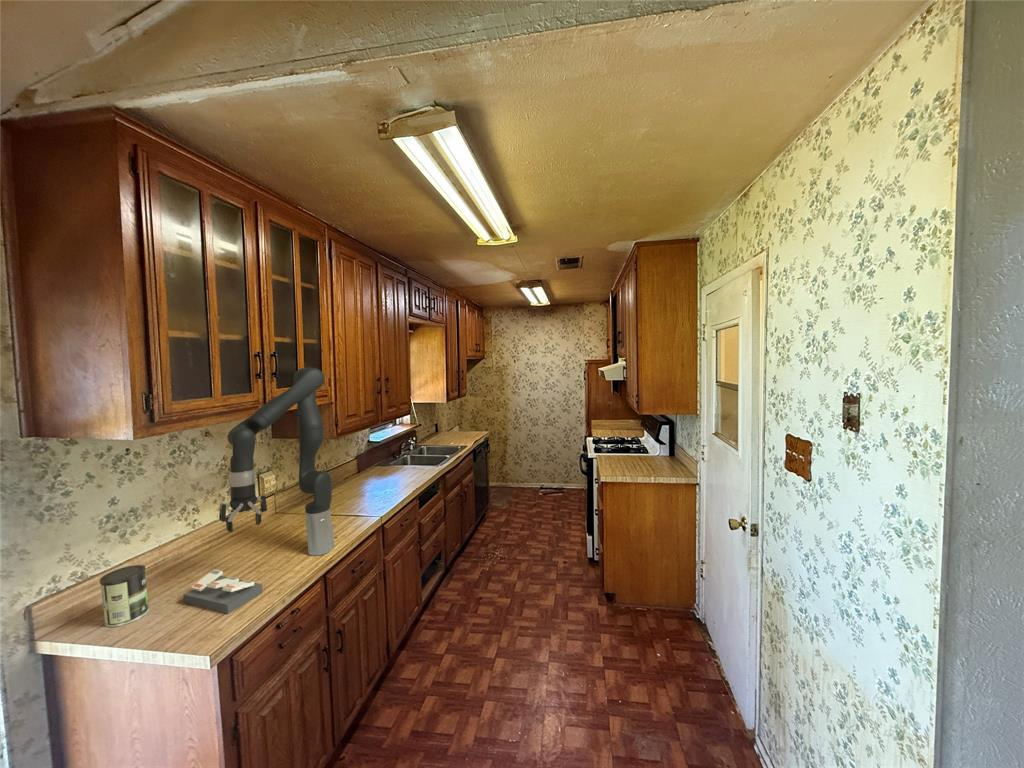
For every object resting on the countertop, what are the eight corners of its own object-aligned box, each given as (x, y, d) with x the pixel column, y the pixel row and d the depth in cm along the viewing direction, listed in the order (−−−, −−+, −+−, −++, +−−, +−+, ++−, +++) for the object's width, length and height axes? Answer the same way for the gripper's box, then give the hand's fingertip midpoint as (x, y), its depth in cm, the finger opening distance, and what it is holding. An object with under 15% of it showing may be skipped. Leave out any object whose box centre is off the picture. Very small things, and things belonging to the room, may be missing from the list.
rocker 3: (244, 583, 138) (245, 579, 139) (254, 585, 137) (255, 581, 137) (221, 590, 131) (222, 586, 131) (231, 592, 129) (232, 588, 130)
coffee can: (146, 602, 135) (142, 561, 134) (151, 615, 128) (147, 571, 127) (102, 618, 127) (98, 574, 126) (105, 632, 120) (100, 586, 119)
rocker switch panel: (220, 583, 145) (219, 575, 145) (262, 592, 139) (262, 584, 139) (183, 603, 134) (183, 594, 134) (228, 614, 128) (227, 604, 127)
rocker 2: (229, 580, 141) (230, 576, 141) (239, 582, 139) (239, 578, 139) (205, 587, 133) (206, 582, 133) (215, 589, 132) (216, 585, 132)
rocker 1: (214, 571, 143) (213, 569, 142) (224, 573, 141) (222, 570, 141) (191, 589, 136) (190, 586, 135) (201, 592, 134) (199, 588, 134)
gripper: (260, 477, 154) (262, 520, 155) (215, 485, 143) (217, 531, 144) (268, 480, 150) (270, 524, 150) (222, 489, 139) (224, 536, 139)
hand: (244, 528), depth 147 cm, fingers open, 8 cm apart
